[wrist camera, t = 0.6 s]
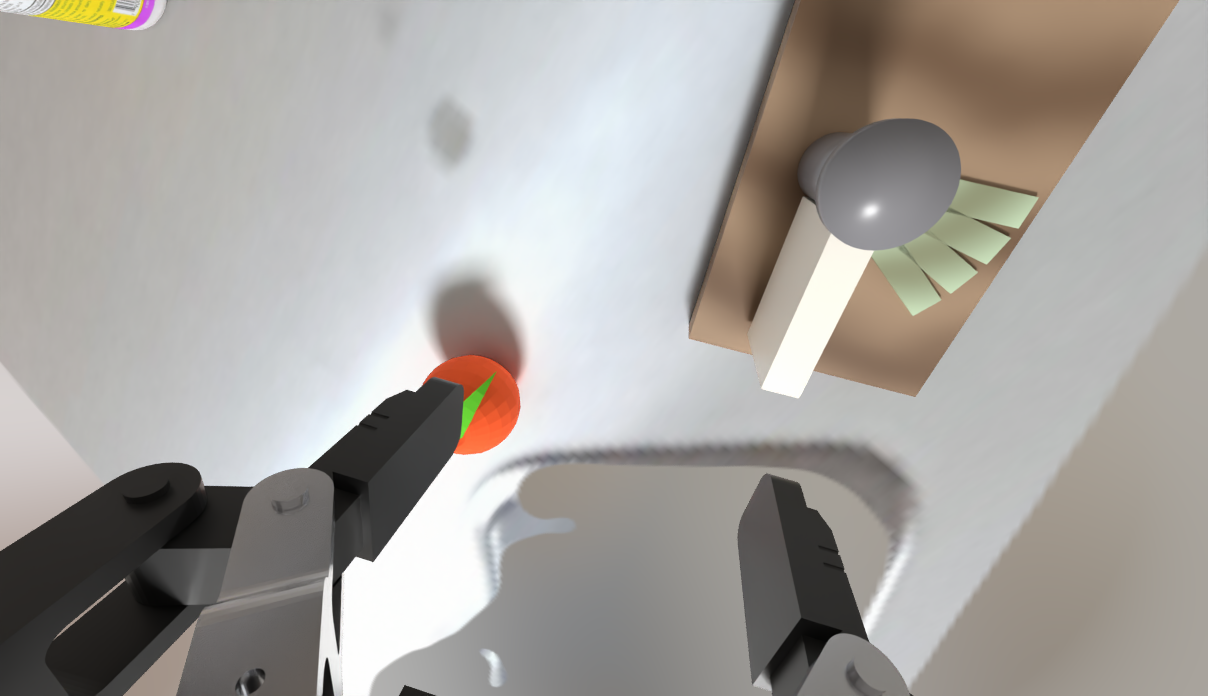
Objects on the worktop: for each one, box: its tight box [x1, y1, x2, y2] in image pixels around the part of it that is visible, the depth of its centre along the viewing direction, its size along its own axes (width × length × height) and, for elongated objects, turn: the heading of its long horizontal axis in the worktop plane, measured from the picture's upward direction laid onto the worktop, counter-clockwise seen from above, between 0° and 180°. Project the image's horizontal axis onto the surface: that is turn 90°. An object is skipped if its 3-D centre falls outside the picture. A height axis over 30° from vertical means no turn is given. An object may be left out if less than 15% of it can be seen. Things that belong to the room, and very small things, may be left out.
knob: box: [747, 118, 961, 398], centre depth 20 cm, size 12×4×7 cm, turn 170°
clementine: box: [422, 355, 520, 455], centre depth 31 cm, size 8×7×7 cm
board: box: [689, 0, 1179, 397], centre depth 23 cm, size 20×14×2 cm
